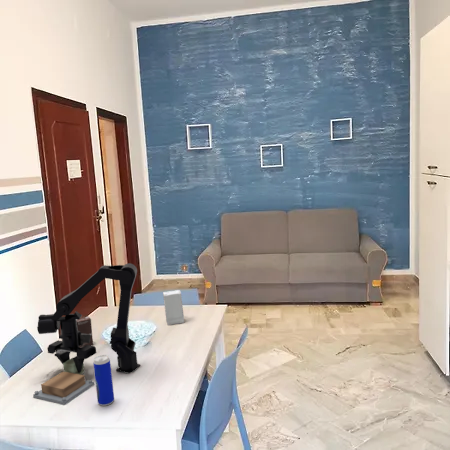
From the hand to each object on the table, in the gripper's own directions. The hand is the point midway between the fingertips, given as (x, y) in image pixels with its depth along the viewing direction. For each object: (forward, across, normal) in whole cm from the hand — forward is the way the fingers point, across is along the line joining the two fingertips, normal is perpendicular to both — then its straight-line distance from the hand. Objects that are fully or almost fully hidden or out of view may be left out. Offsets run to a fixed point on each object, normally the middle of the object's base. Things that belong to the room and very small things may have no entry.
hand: (74, 371), depth 170 cm
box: (+1, +15, -22) cm, 27 cm away
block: (+1, 0, 0) cm, 1 cm away
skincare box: (+1, -8, -57) cm, 58 cm away
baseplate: (+1, -6, +11) cm, 13 cm away
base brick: (+1, -6, +11) cm, 13 cm away
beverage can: (+1, -25, +12) cm, 28 cm away
